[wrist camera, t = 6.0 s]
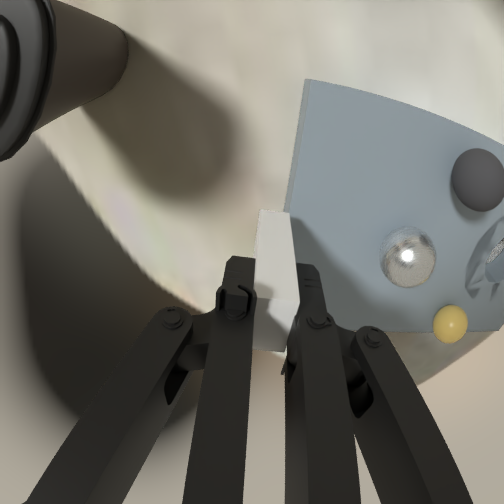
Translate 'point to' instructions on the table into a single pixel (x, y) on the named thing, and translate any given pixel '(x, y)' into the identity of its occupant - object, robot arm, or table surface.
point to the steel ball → (407, 256)
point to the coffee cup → (52, 65)
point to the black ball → (478, 179)
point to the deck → (389, 210)
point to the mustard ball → (450, 324)
